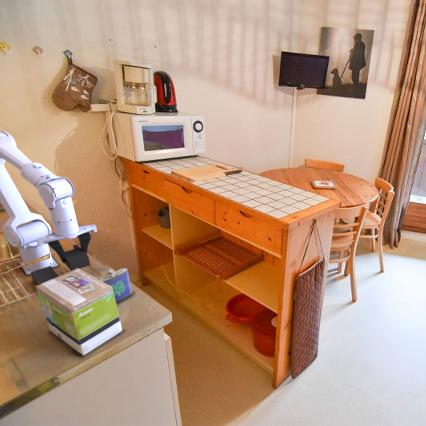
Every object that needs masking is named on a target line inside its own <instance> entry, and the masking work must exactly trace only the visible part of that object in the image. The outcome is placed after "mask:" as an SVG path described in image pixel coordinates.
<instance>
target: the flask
mask: <svg viewBox="0 0 426 426" xmlns="http://www.w3.org/2000/svg"><path fill="white" fill-rule="evenodd" d="M129 276H130V275H129V271H128V269H127V268H126V267H125V268H124V267H122V268H120V269H118V270H116V271H114V270H113V269H112V268H110V269H108V272H107V273H106V275H103V276H101V277H100V276H98V277H97V279H98V280H100V281H102V282H104V283H106V284H107V285H109V286H111V287H112V288H113V292H114V297H115V301H116V305H117V304H119V303H121V302H122V301H125V300H126V299H128V298H129V297H131V296H132V294H133V290H132V285H131V282H130V281H131V279H130V277H129Z"/></svg>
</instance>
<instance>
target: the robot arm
mask: <svg viewBox="0 0 426 426" xmlns="http://www.w3.org/2000/svg"><path fill="white" fill-rule="evenodd" d="M6 162H7V163H8V164H10V165H11V166H13V167H15V168H16V169H18V170H19V171H20V176H21V177H22V178H23V179H24V180H25V181H26V182H28V183H29V184H30V185H32V186H33V187H34V188H35V189H37V190H38V191H37V193H38V195H39V197H40V198H41V199H42V201H43V204H44V206H45V207H46V208H48V209H47V210H48V212H49V216H50V219H51V223H52V227H53V230H54V232H52V227H51V226H50V224H49V222H47V221H46V220H45V218H44V217H43V215H41V214H38V213H35V212H31V211H30V210H29V208H28V206H27V204H26V202H25V201H24V199H23V197H22V195H21V193H20V192H19V190H18V188H17V187H16V185H15V183H14V181H13V179H12V178H11V176H10V174H9V172H8V170H7V168H6V167H5V163H6ZM74 195H75V187H74V184H73V182H72V181H71V180H70V179H68V177H64V176H60V175H56V174H54V173H53V172H52V171H51V170H50V169H48V168H47V167H45V166H44V165H43V164H41V163H40V162H32V160H31V159H29V158H28V157H27V155H26V154H24V152H22V151H21V150H20V148H18V145H17V143H16V140H15V138H14V137H13V136H12V135H11V134H10V133H8V132H7V131H4V130H1V131H0V203H1V206H2V207H3V209H4V210H5V212H6V214H7V215H8V217H9V218H8V219H7V221H6V222H5V223H4V225H3V226H2V229H3V232H4V234H5V239H6V241H7V242H8V243H9V244H10V245H11V246H12V247H15V248H18V251H19V255H20V257H21V261H20V262H19V264H20V265H21V264H23V263H27V262H31V261H33V260H35V259H37V258H40V257H42V256H45V255H47V254H49V253H50V258H49V259H46V260H43V261H40V262H38V263H35V264H32V265H28V266H25V267H22V266H21V267H22V269H23V271H24V272H25V274H26V275H31V272H33V271H36V270H39V269H43V268H46V267H49V266H51V267H52V268H54V267H57V266H58V263H57V261H55V259H54V258H53V257H52V256H53V255H52V253H51V249H52V250H53V251H54V252H55V253H56V254H57V255H58V257H59V259H60V261H61V263H63V264H65V262H66V260H65V257H64V254H63V250H64V248H63V245H62V244H61V242H60V241H63V240H72V239H76V238H77V239H78V241H79V245H80V248H81V249H82V250H83V251H84V252H85V253H86V254H87V255H88V248H89V245H90V242H91V240H92V235H91V233H97V232H98V229H97V226H96V225H95V224H94V223H93V224H88V225H81V226H79V224H78V220H77V215H76V211H75V208H74V204H73V199H72V197H73V196H74ZM50 248H51V249H50ZM62 248H63V249H62ZM50 263H51V264H50Z"/></svg>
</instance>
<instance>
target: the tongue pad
mask: <svg viewBox="0 0 426 426" xmlns="http://www.w3.org/2000/svg"><path fill="white" fill-rule="evenodd" d="M30 276H31V278H32V282H33V284H35V286H38V285H40V284H42V283H45V282H47V281H49V280H52V279H54V278H56V277H59V276H60V275H58V273H57V272H56V271H55V269H54V267H51V266H49V267H46V268H43V269H39V270H36V271H33V272H31V274H30Z"/></svg>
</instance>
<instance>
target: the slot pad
mask: <svg viewBox="0 0 426 426" xmlns="http://www.w3.org/2000/svg"><path fill="white" fill-rule="evenodd" d="M72 248H73V249H69V250H66V251H65V250H64V248H63V247H62V249H63V254H64V257H65V260H66V262H65V263H64V265H65V266H66V267H67V268H68V269H69V270H70V271H73V270H75V269H77V268H79V269H83V268H86V267H90V266H91V261H90V258H89V255H88V253H87V254H86V253H85V252H84V251H83V250H82V249H81V246H79V245H78V244H77V243H76V244H73V245H72Z"/></svg>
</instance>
